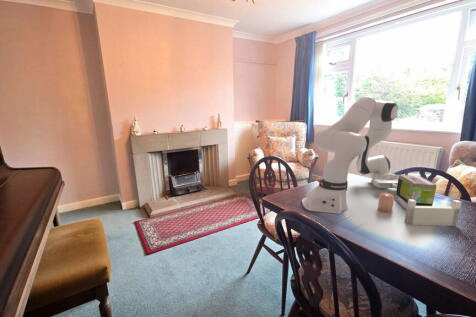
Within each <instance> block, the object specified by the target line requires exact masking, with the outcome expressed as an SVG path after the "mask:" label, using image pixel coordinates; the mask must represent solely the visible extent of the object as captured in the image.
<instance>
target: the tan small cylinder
mask: <svg viewBox="0 0 476 317" xmlns="http://www.w3.org/2000/svg"><path fill="white" fill-rule="evenodd" d="M394 201H395V195H394V194H392V193H388V192H380V193H379V197H378V203H377V210H378V212H382V213H387V214H391V213H393V209H394V208H393V207H394Z"/></svg>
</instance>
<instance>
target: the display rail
mask: <svg viewBox="0 0 476 317" xmlns="http://www.w3.org/2000/svg"><path fill="white" fill-rule="evenodd" d="M461 207H462V201H460V200H457V199H452V201H451V205H450V206H448V205H447V206H443V205H442V206H437V205H432V206H416V201H415V200H413V199H408V205H407V210H406V211H405V218H404V223H405V224H406V225H408V226H447V227H448V226H454V227H455V226H457V224H458V219H459V216H460V215H459V214H460V210H461Z"/></svg>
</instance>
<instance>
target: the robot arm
mask: <svg viewBox="0 0 476 317" xmlns="http://www.w3.org/2000/svg"><path fill="white" fill-rule="evenodd" d="M398 112H399V107H398V105H397V103H396V102H394V101H390V100H388V101H386V100H379V99H375V98H374V97H372V96H369V95H364V96H361V97H359V99H357V100H355V102H354V103H353V104H351V106H350V107H349V108H348V110H347V111H346V112H345V114H343V116H342V117H341V118H340V119H339V120H338V121H336V122H335V123H333V124H332V125H331V126H328V127H327V128H324V129H321V130H319V131H317V132H316V133H315V135H314V138H313V142H314V146H315V147H316V148H318V149H319V150H321V151H324V152H329V153H334V156H333V159H330V160H328V161H327V162H326V163H325V164H324V166H323V167H324V168H323V178H320V177H317V178H316V182H317V183H318V185H317V186H315V187H314V188H312V189H310V190H308V192H307V194H306V197H303V198H302V199H301V204H302V206H303V207H304V209H306V210H307V211H310V212H319V213H327V214H328V213H329V214H337V215H338V214H342V213H343V212H345V211H347V210H348V207H349V206H348V203H347V191H348V187H349V186H348V183H349V182H348V175H349V169H350V166H351V164H352V162H353V160H354V159H355V158H357V157H358V158H357V161H356V164H355V168H356V171H357V172H358V173H359V174H362V175H368V176H369V177H370V179H371V180H370V183H372V184H373V186H375V187H376V188H378V189H394V190H397V185H398V179H399V175H400V174H394V173H390V170H391V161H390V159H389V158H388V157H387V156H385V155H383V154H379V155H374V156H372V157H371V156H370V157H369V155H370V152H371V151H370V150H371V149H372V148H373V147H374V146H375V145H378V143H381V142H384V141H385V140H386V139H388V138H389V137H390V135H391V133H392V128H393V127H392V125H393V121H394V120H395V119H396V117H397V115H398ZM368 122H369V126H368V127H369V128H368V131H367V133H366V134H365V135H363V134H360V132H362V131H363V129H364V128H365V126H367V124H368Z"/></svg>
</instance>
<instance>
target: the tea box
mask: <svg viewBox="0 0 476 317" xmlns="http://www.w3.org/2000/svg"><path fill="white" fill-rule="evenodd" d="M398 175H399V179H398V185H397V189H396V193H395V195H394V201H396V202H397V203H399V205H400V206H402V207H403V208H404V209H406V210H407V205H408V199H413V200H415V201H416V206H434V205H433V204H434V201H435V195H436V190H437V184H436V183H434V182H432V181H430V180H428V179H427V178H424V177H423V176H420V175H413V174H412V175H410V174H398Z"/></svg>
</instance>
